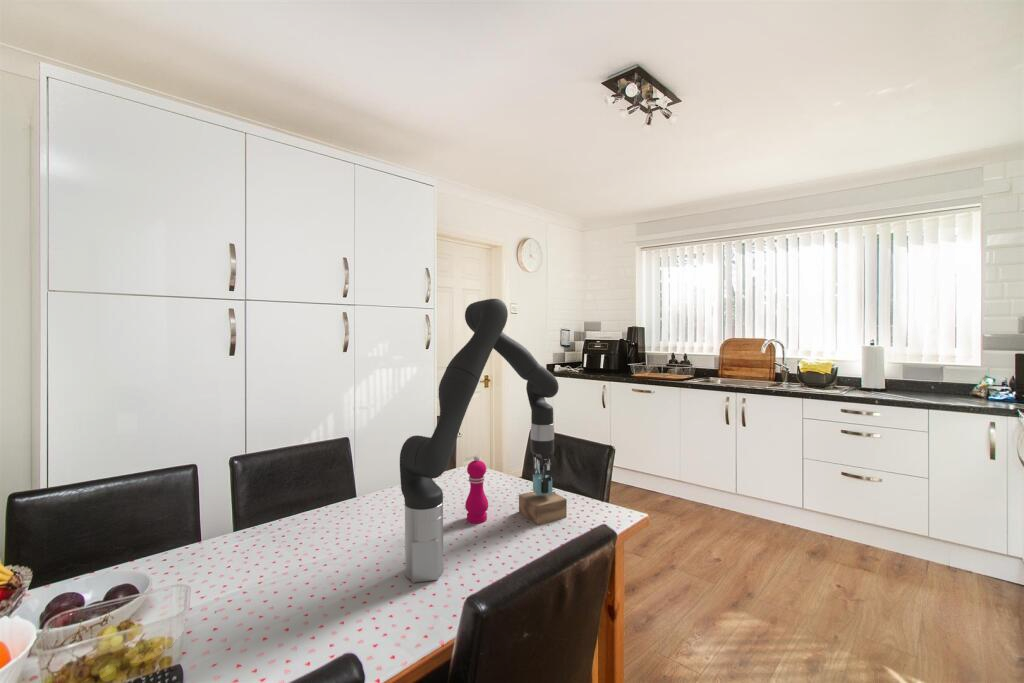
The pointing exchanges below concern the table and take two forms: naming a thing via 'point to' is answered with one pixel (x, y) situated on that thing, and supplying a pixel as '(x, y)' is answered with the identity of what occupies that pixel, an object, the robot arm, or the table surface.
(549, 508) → the walnut box
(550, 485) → the teal cube
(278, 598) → the table surface
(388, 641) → the table surface
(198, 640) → the table surface
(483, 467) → the pepper mill
